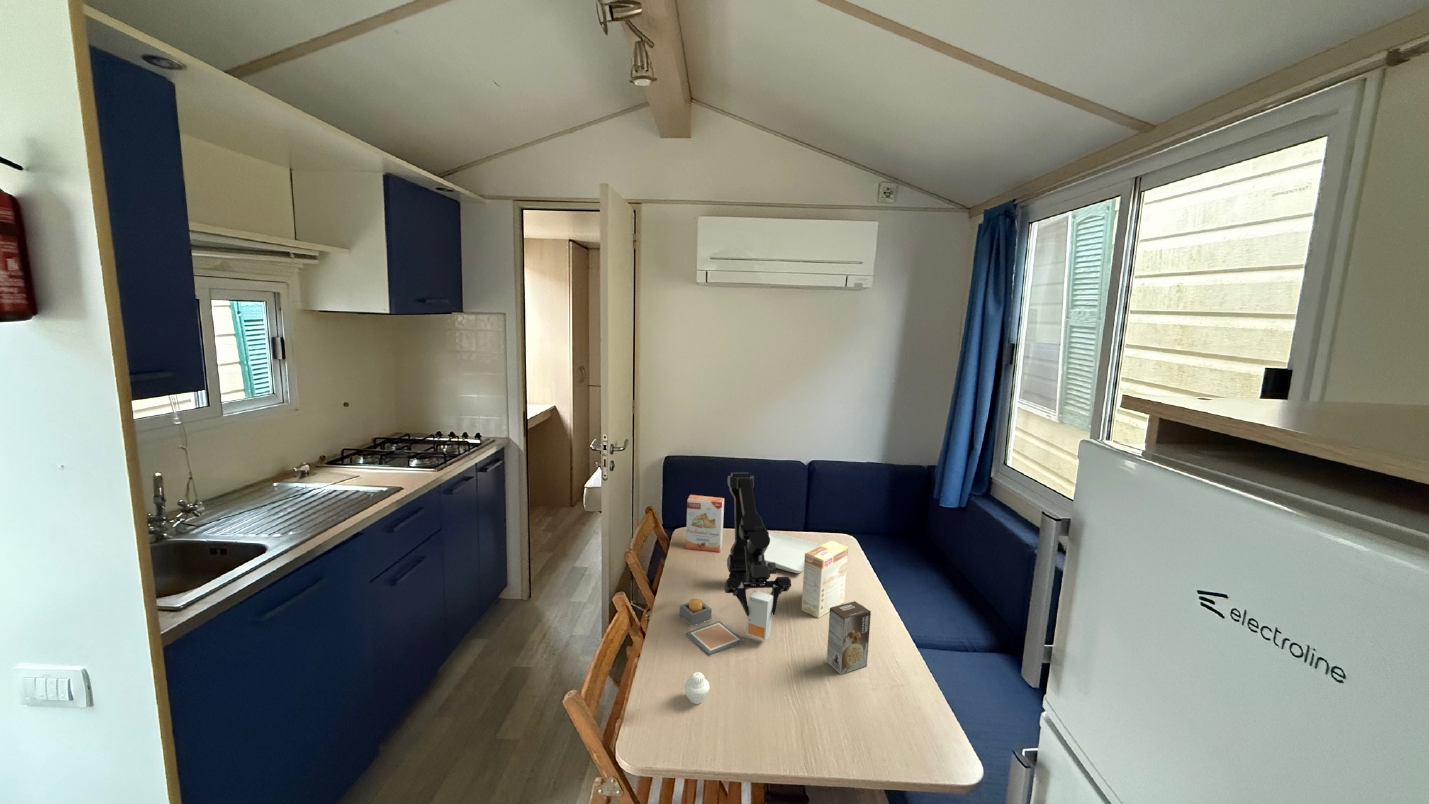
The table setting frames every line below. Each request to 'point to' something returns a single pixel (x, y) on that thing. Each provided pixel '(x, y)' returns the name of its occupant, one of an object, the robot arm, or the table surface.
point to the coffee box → (848, 637)
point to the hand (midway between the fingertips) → (760, 615)
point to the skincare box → (759, 614)
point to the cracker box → (704, 523)
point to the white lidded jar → (696, 688)
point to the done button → (695, 605)
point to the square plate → (788, 552)
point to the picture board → (714, 637)
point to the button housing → (695, 614)
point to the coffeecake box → (824, 578)
